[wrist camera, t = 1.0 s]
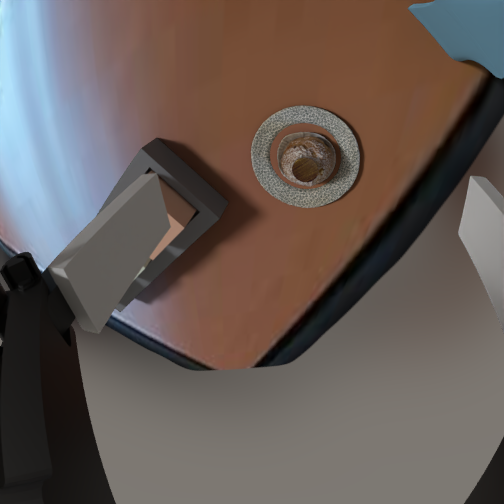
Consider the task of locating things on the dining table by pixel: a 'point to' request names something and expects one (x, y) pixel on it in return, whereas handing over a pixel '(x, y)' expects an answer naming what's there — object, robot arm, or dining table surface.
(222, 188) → the dining table surface
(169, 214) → the key
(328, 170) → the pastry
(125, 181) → the keypad
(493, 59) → the vase
